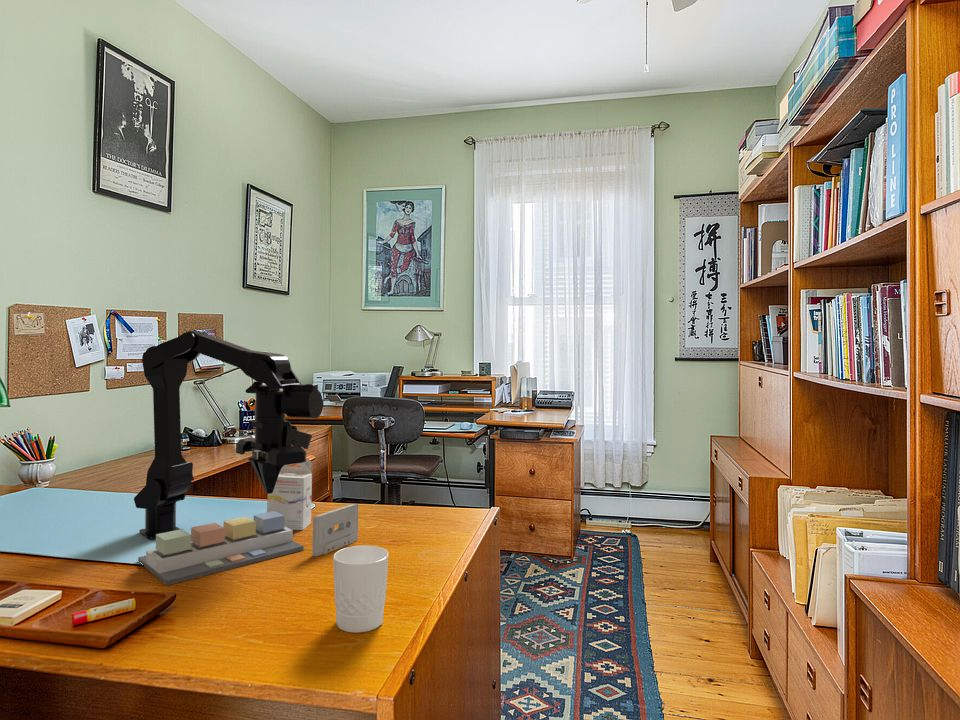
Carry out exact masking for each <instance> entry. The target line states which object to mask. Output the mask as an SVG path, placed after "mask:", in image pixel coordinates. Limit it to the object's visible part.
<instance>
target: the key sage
mask: <svg viewBox="0 0 960 720" xmlns="http://www.w3.org/2000/svg"><path fill="white" fill-rule="evenodd" d="M155 549H157V550H158V551H159V552H161V553H162V554H164V555H167V554H171V553H176V552H180V551H185V550H189V549H191V533H189V532H187V531H186V530H184V528H183V529H181V528H180V530H175V531H170V532H165V533H160V534H156V538H155Z"/></svg>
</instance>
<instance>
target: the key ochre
mask: <svg viewBox="0 0 960 720" xmlns="http://www.w3.org/2000/svg"><path fill="white" fill-rule="evenodd" d="M222 527H224V528H225V535H226V536H227V537H229V538H231V539H233V540H234V539H238V538H243V537H247V536H252V535H256V521H254V519H252V518H249V517H248V516H241V517H237V518H233V519H232V518H231V519H226V520H223V526H222Z"/></svg>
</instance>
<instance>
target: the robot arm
mask: <svg viewBox="0 0 960 720" xmlns="http://www.w3.org/2000/svg"><path fill="white" fill-rule="evenodd" d="M200 354H201V355H204V356H206V357H209V358H212V359H214V360H217V361H220V362H221V363H225V364H227V365H231V366H234V367H236V368H238V369H239V370H241V371H242V372H243V374H244V375H245V376H247V377H249V378H251V379H252V380H254V381H253V383H252V384H251V385H250V386H249V387H248V388H246V389H245V393H246V394H255V400H254V401H255V404H254V406H255V409H254V410H255V413H254V418H255V419H254V420H251V422H250V423H251V424H250V426H251V427H254V437H250V438H241V439H239V440H238V441H237V443H235V454H239V455H245V453H247V452H249V453H250V452H251V457H248V461H249V462H250V464H251V466H252V468H253V469H254V472H255V474H256V476H257V477H258V480H259V481H260V484H261V485H262V486H261V487H262V488H263V490H264V492H265V493H266V494H267V495H268V494H270V493H273V490H274V487H275V484H276V481H277V478H278V476H279V473H280V471H281V468H282V467H283V466H284V465H288V466H290V465H297V464H296V463H303V462H306V460H307V451H306V450H308V449H309V447H310V443H311V440H312V437H313V434H310V433H308V432H305V431H304V432H303V431H300V430H298V427H297V425H292V424H291V422H290V421H289V420H286V416H287V418H301V419H303V418H304V419H317V418H319V417H320V416H321V415H322V413H323V408H324V399H323V395H322V393H321V392H320V390H319V384H318V383H307V384H303V383H301V381H300V380H299V378H298V376H297V375H296V374H295V372H294V370H293V369H292V367H291V366H292V365H291V362H290V359H289V358H288V357H287V356H286V355H284V354H282V353H275V352H269V351H267V352H266V351H260V350H259V351H258V350H251V349H249V348H246V347H243V346H242V345H238V344H235V343H232V342H230V341H227V340H225V339H221V338H219V337H215V336H212V335H211V334H208V333H206V332H205V331H197V330H188V331H186V332H183V333H182V334H180V335H179V336H177V337H175V338H172V339H169V340H165V341H164V342H162V343H161V342H160V343H159V344H158V345H153V346H149V347H148V348H147V349H146V350H145V351H144V352H143V353H142V355H141V356H142V358H141V363H142V368H143V373H144V375H143V376H144V377H145V378H146V380H147V382H148V383H149V386H150V387H151V388H152V396H153V397H152V398H153V399H152V400H153V401H152V402H153V404H152V405H153V430H154V431H153V432H154V433H153V434H154V436H153V437H154V438H153V439H154V458H153V459H152V462H151V464H150V465H149V468H148V469H147V473H146V481H145V485H144V487H143V488H141V490H140V491H139V492H138V493H137V494H136V495H135V496H134V497H133V502H134V504H135V509H145V510H144V512H145V516H144V517H145V519H144V520H145V521H144V525H145V527H144V528H140V529H139V531H138V533H140V534H141V533H142V534H141V535H142V536H144V537H146V538H147V539H148V540H149V539H156V534H160V533H165V532H170V531H175V530H180V529H181V528H180V527H178V526H177V514H176V513H177V503H178V502H180V501H184V500H185V498H186V495H187V493H188V491H189V489H191V486H192V481H195V479H194V478H195V477H194V475H193V467H194V464H193V461H186V459H185V458H184V456H183V455H182V432H181V431H182V429H181V428H182V427H181V424H182V423H181V398H180V396H181V394H180V393H181V392H180V391H181V390H180V389H181V385H182V384H183V381H184V380H185V378H186V376H187V372H188V366H189V365H188V364H190V363H192V362H193V361H195V360H197V359H198V357H199V356H201V355H200Z"/></svg>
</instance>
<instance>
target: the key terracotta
mask: <svg viewBox="0 0 960 720" xmlns="http://www.w3.org/2000/svg"><path fill="white" fill-rule="evenodd" d="M190 534H191V542H193V543H195V544H196V545H198V546H199V547H203V546H207V545H212V544H216V543H221V542H225V528H224V527H223V526H222V525H220V524H219V523H216V522H211V523H207V524H202V525H197V526H191V527H190Z"/></svg>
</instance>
